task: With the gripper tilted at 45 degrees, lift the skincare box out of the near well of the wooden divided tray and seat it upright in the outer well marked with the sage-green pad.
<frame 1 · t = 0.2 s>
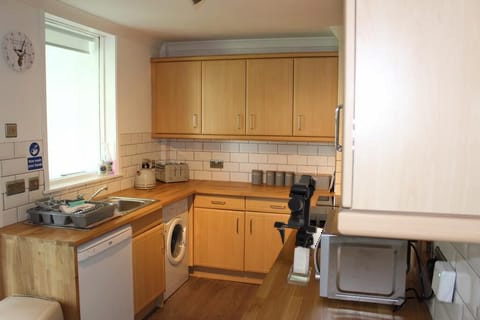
hand: (293, 246, 191), 16 cm above the counter, tool tilted 15°, fingers open, 9 cm apart
wooden divided tray: (299, 276, 197), on the counter
skincare box: (300, 273, 201), resting in wooden divided tray
white cup: (315, 247, 237), on the counter
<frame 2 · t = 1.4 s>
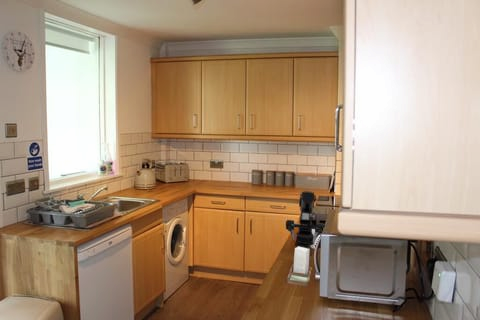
hand: (303, 242, 204), 13 cm above the counter, tool tilted 45°, fingers open, 9 cm apart
nothing on the counter moved.
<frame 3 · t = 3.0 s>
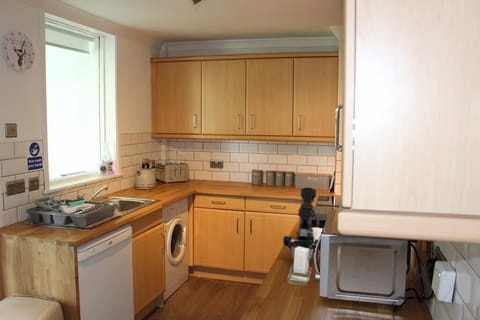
hand: (301, 259, 198), 7 cm above the counter, tool tilted 45°, fingers closed on skincare box, 7 cm apart
skincare box: (300, 273, 201), resting in wooden divided tray, touching gripper
everything else where it was.
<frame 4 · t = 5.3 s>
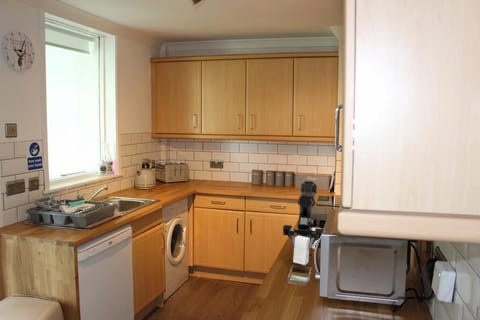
hand: (301, 248, 194), 14 cm above the counter, tool tilted 45°, fingers closed on skincare box, 7 cm apart
skincare box: (300, 262, 196), point 6 cm above the counter, touching gripper
everything else where it was.
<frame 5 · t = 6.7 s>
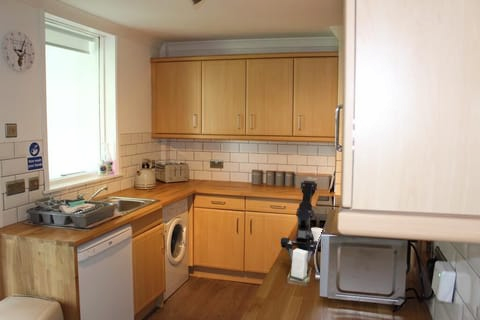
hand: (299, 262, 190), 9 cm above the counter, tool tilted 45°, fingers closed on skincare box, 7 cm apart
skincare box: (298, 276, 192), point 2 cm above the counter, touching gripper
everything else where it was.
when the fingers open (8 cm above the counter, at t = 7.5 s): skincare box stays where it is, resting on wooden divided tray.
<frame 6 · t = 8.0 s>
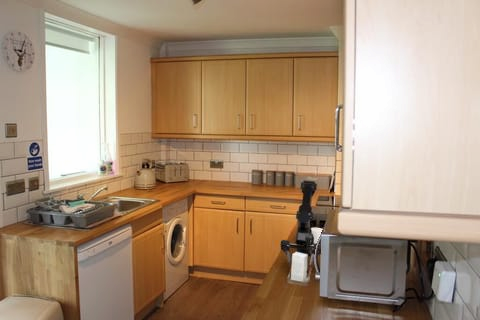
hand: (299, 264, 190), 8 cm above the counter, tool tilted 45°, fingers open, 9 cm apart
skincare box: (298, 279, 193), resting on wooden divided tray
everything else where it was.
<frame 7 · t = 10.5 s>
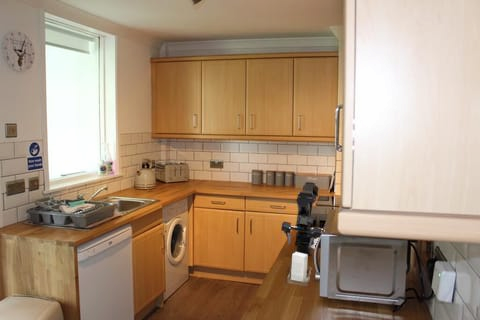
hand: (298, 246, 198), 13 cm above the counter, tool tilted 40°, fingers open, 9 cm apart
nothing on the counter moved.
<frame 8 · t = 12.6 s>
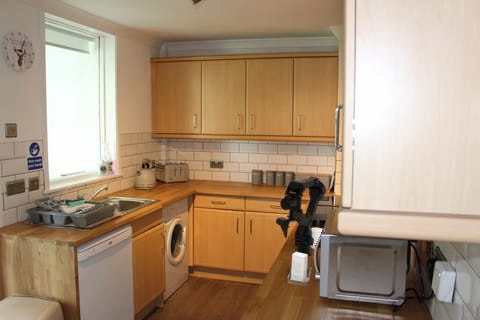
hand: (293, 236, 212), 13 cm above the counter, tool pointing down, fingers open, 9 cm apart
nothing on the counter moved.
at the end: skincare box 0.3 cm from the target spot on the wooden divided tray, point 0.1 cm above the wooden divided tray's base; skincare box tilted 0°; the gripper is holding nothing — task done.
